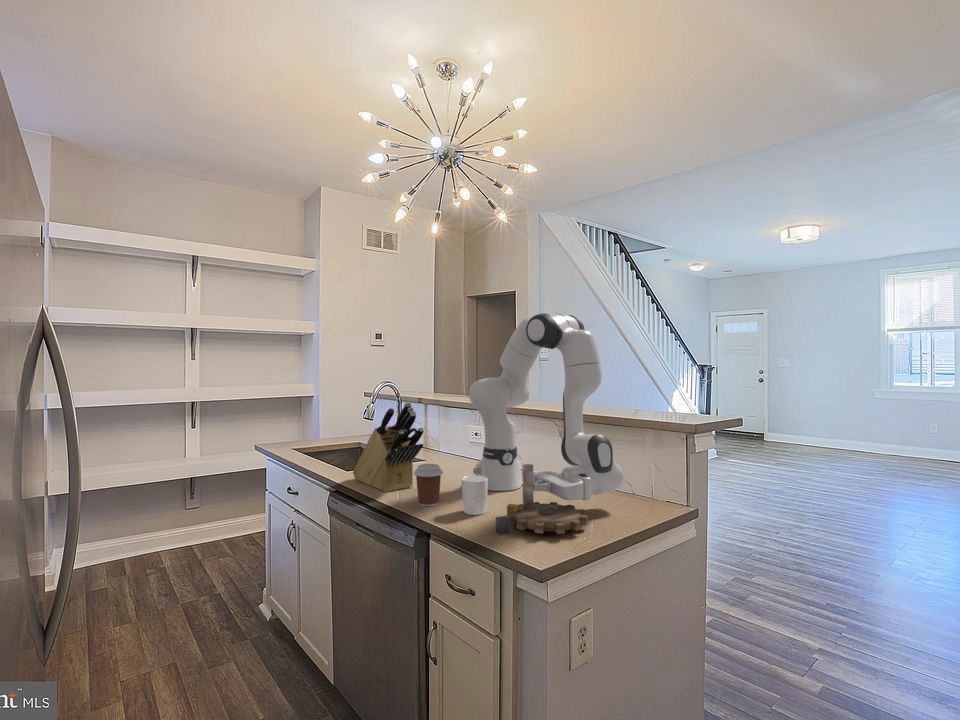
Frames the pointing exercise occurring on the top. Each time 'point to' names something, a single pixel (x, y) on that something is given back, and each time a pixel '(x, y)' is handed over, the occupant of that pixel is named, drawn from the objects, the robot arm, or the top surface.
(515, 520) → the sprocket
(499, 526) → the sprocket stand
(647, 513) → the top surface
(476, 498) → the white cup
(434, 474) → the coffee cup
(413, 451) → the knife block
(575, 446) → the robot arm
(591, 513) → the top surface
